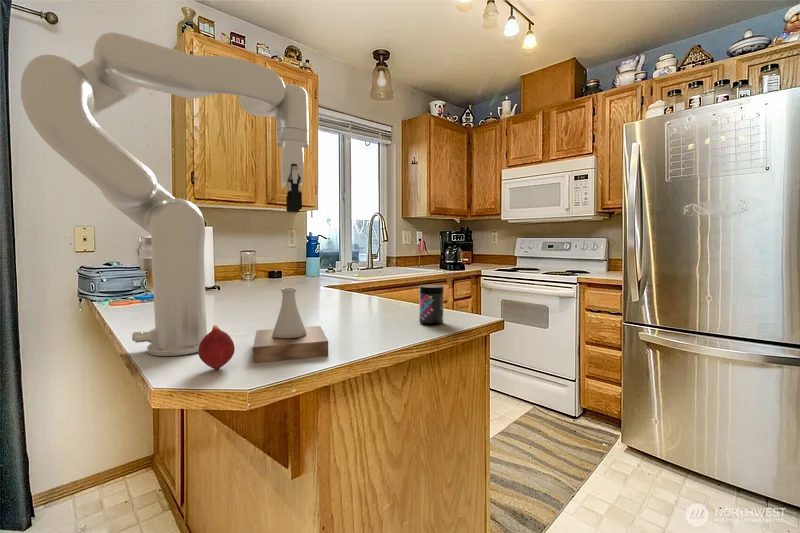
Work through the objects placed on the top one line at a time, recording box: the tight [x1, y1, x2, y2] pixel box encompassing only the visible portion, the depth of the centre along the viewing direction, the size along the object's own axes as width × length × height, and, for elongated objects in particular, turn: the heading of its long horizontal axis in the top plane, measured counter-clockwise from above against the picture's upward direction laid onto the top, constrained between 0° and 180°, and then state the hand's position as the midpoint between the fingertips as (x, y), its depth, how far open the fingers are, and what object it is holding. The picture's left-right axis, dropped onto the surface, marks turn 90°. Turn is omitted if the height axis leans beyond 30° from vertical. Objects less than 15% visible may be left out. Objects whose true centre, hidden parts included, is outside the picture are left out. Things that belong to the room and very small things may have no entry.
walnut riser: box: [252, 325, 329, 364], centre depth 82 cm, size 14×14×3 cm
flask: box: [272, 287, 307, 338], centre depth 81 cm, size 7×7×10 cm
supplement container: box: [418, 284, 445, 327], centre depth 106 cm, size 7×7×10 cm
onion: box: [197, 324, 236, 371], centre depth 69 cm, size 6×6×8 cm
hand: (294, 210), depth 95 cm, fingers open, 9 cm apart
